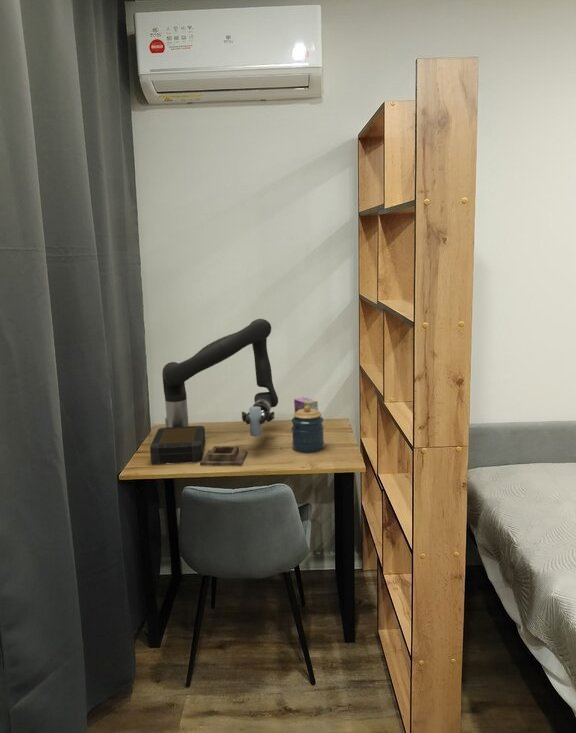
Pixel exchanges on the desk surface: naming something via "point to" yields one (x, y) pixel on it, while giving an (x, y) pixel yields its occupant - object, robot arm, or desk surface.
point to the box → (305, 403)
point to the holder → (224, 456)
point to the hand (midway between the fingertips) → (254, 422)
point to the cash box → (178, 445)
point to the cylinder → (255, 421)
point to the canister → (307, 430)
